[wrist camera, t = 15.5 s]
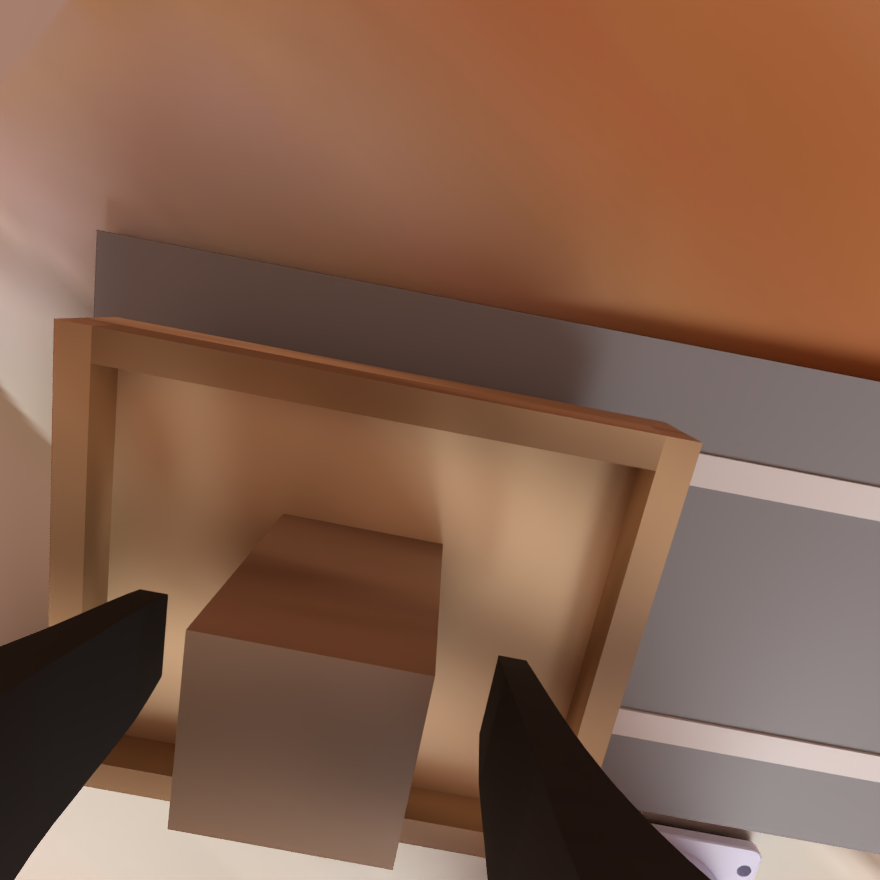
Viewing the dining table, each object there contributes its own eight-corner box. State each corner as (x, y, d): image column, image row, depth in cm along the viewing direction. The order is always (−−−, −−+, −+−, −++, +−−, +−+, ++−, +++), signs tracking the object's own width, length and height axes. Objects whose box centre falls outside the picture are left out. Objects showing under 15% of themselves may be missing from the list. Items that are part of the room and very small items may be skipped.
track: (897, 839, 20) (917, 863, 19) (94, 694, 20) (78, 711, 19) (1100, 425, 17) (1136, 431, 16) (114, 233, 16) (94, 229, 15)
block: (413, 681, 14) (392, 869, 10) (265, 653, 14) (167, 829, 10) (442, 543, 14) (434, 676, 9) (283, 513, 13) (185, 629, 9)
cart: (543, 748, 19) (568, 872, 15) (136, 674, 18) (45, 779, 14) (639, 408, 16) (702, 442, 12) (159, 315, 16) (54, 318, 12)
